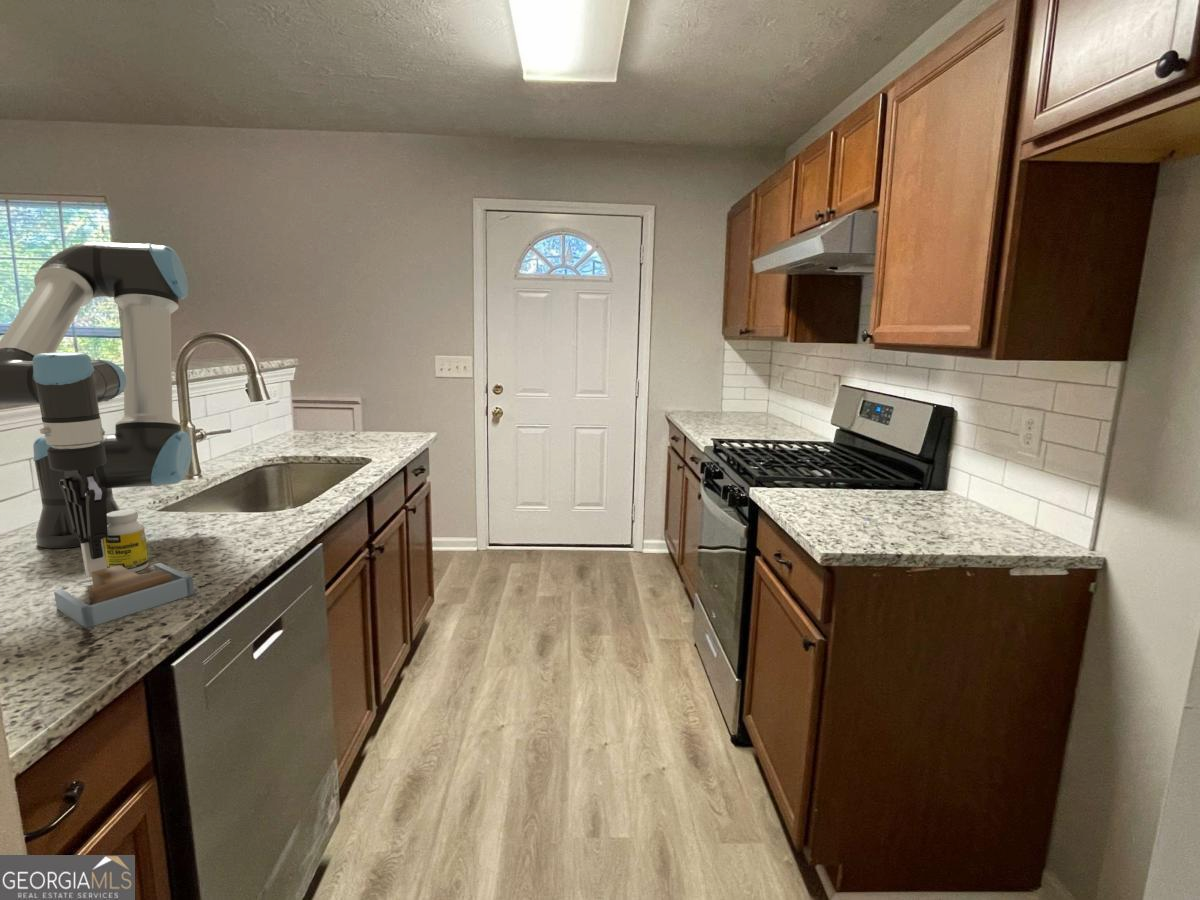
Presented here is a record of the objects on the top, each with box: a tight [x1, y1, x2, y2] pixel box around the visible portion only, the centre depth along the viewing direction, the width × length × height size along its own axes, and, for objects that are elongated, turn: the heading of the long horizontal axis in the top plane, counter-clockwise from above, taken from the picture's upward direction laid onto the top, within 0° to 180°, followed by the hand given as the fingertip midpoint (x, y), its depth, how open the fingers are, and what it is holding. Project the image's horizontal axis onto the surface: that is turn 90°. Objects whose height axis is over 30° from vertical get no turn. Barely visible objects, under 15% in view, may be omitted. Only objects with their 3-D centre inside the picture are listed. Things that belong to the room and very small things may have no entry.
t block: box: [87, 565, 171, 605], centre depth 103 cm, size 12×10×4 cm
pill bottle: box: [103, 509, 149, 573], centre depth 115 cm, size 6×6×11 cm
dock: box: [53, 562, 195, 629], centre depth 102 cm, size 12×15×3 cm
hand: (96, 573), depth 110 cm, fingers closed
